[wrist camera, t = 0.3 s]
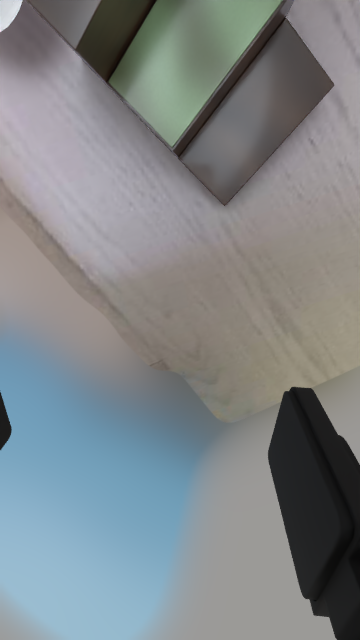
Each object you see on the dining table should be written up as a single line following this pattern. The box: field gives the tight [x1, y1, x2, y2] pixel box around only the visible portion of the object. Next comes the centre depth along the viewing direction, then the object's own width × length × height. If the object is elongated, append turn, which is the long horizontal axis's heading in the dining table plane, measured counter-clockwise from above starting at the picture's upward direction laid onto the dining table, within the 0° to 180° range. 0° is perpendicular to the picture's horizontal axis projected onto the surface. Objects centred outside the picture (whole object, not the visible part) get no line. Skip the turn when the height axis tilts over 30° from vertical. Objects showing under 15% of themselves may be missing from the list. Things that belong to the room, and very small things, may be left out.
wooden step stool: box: [26, 0, 334, 206], centre depth 22 cm, size 14×21×16 cm, turn 48°
